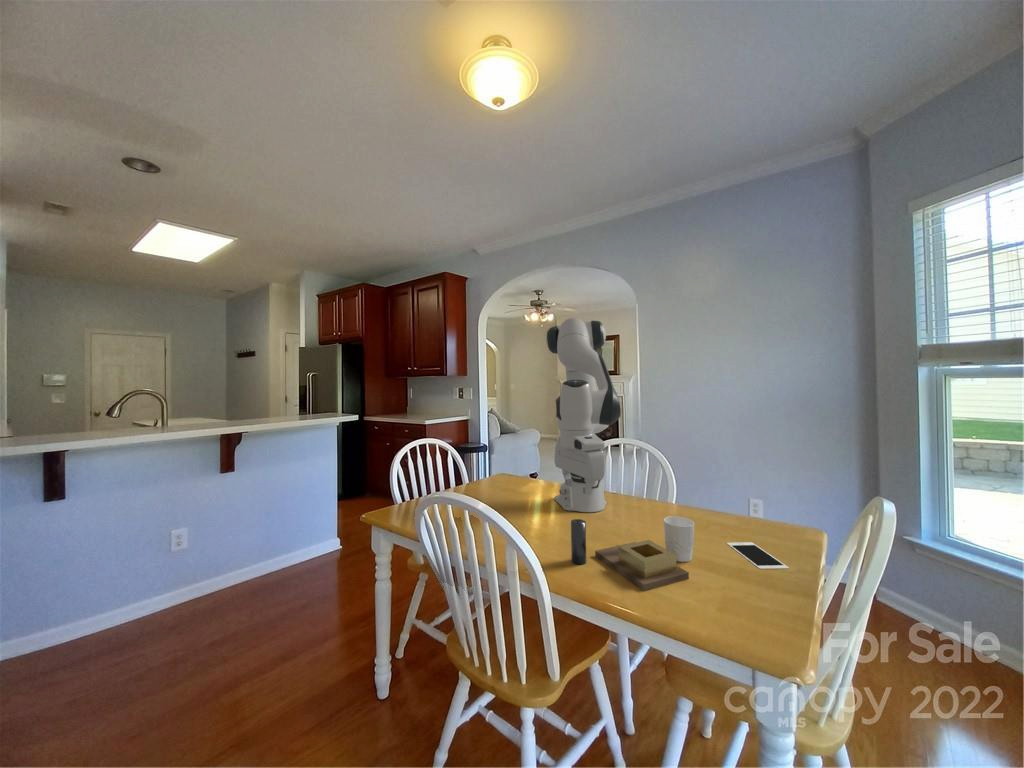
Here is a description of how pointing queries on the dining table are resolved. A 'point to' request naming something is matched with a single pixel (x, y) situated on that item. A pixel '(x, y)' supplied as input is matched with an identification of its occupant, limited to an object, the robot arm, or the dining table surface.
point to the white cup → (679, 537)
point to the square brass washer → (647, 559)
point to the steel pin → (578, 541)
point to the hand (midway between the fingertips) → (577, 489)
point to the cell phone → (757, 556)
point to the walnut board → (612, 559)
